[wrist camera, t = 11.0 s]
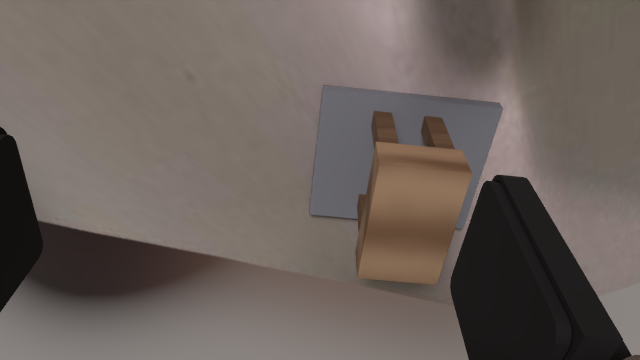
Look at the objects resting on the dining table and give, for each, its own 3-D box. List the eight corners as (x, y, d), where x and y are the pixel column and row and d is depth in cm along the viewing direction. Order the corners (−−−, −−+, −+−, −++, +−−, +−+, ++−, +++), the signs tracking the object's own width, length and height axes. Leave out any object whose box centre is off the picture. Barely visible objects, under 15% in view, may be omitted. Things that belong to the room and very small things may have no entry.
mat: (309, 207, 46) (309, 214, 45) (323, 85, 39) (322, 90, 38) (460, 221, 46) (462, 228, 45) (499, 102, 39) (502, 108, 39)
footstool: (370, 106, 39) (379, 164, 32) (446, 114, 39) (472, 173, 32) (353, 209, 44) (357, 278, 37) (419, 215, 45) (436, 285, 37)
